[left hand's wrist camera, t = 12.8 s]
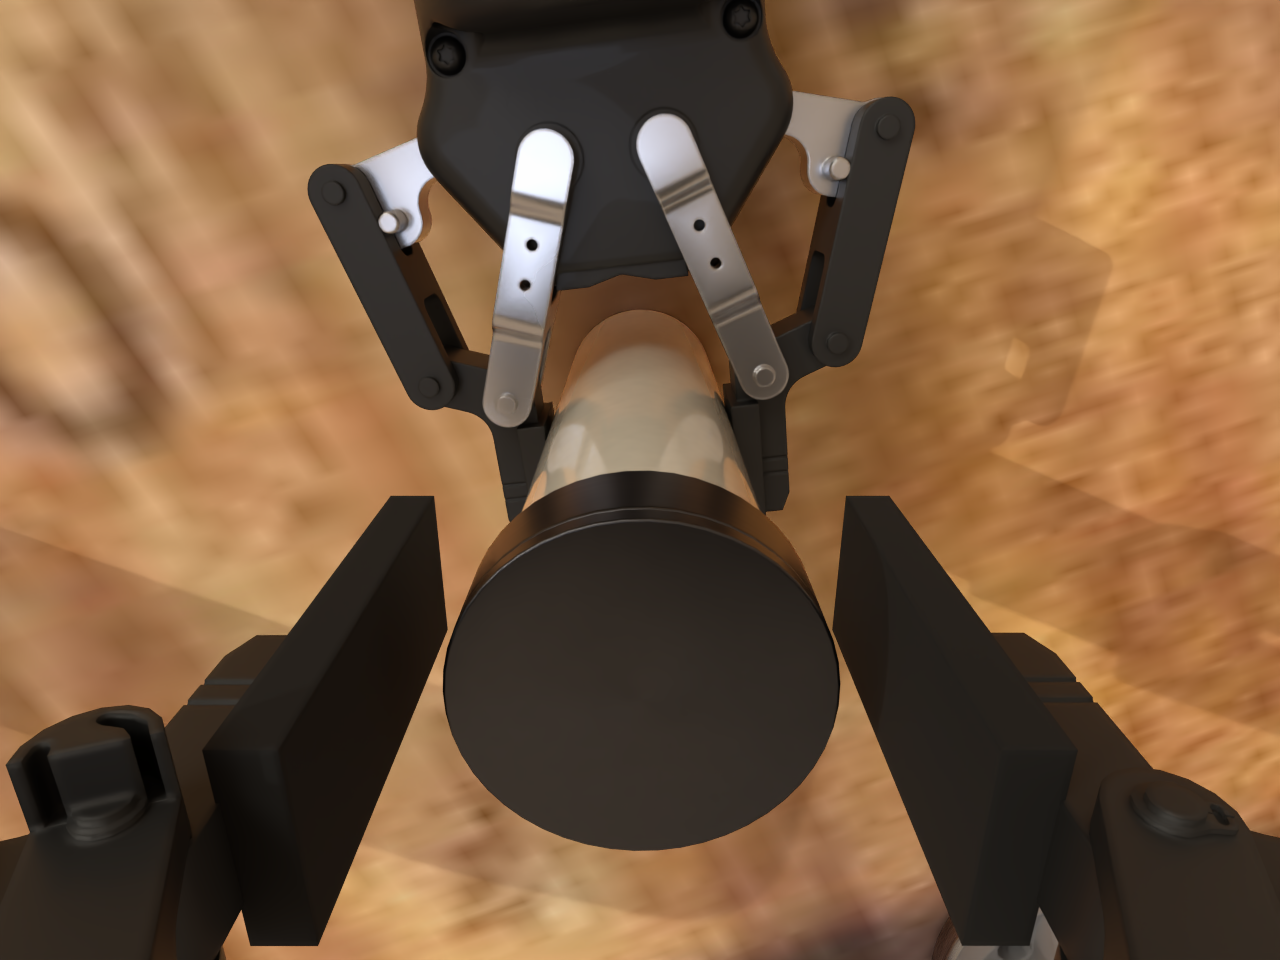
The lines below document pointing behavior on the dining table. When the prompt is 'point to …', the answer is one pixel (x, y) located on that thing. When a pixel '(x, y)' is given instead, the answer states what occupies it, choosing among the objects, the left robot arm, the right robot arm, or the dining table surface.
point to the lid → (641, 664)
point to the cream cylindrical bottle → (641, 410)
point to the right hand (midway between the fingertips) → (652, 529)
